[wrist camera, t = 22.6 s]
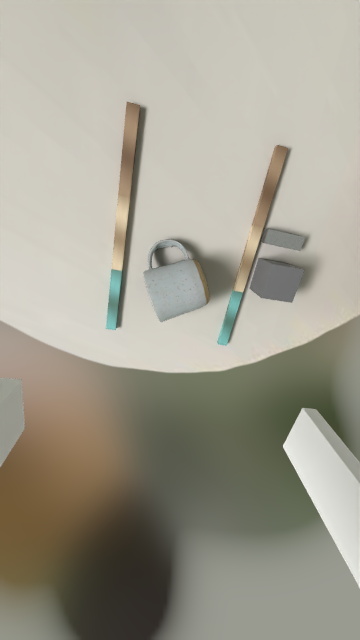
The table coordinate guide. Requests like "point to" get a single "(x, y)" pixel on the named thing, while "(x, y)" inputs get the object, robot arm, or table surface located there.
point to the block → (276, 280)
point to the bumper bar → (282, 239)
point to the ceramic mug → (175, 284)
